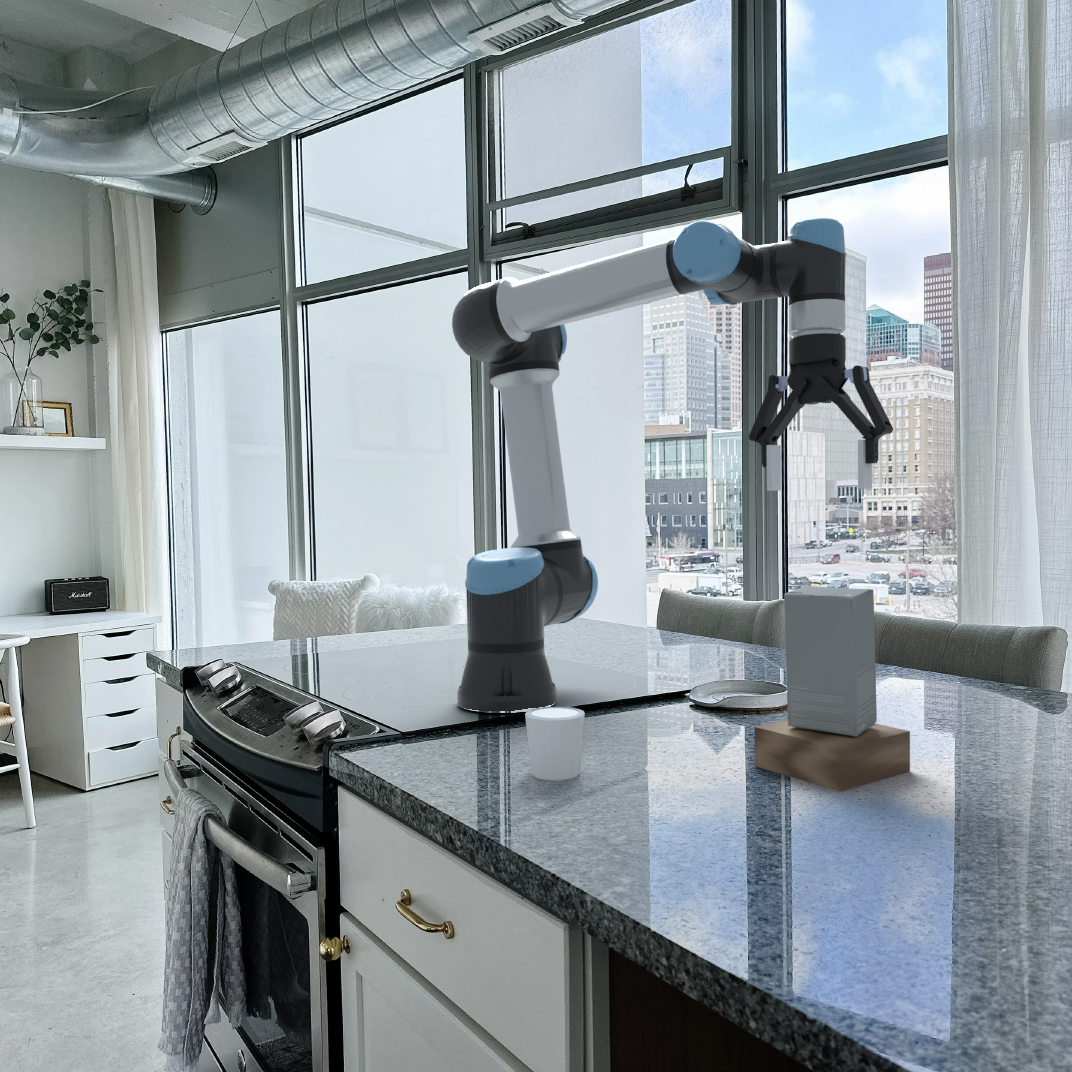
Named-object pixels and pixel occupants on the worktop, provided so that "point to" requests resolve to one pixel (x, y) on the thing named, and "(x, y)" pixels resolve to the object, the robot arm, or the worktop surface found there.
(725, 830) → the worktop surface
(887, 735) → the walnut block
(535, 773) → the white tapered cup
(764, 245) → the robot arm
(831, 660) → the skincare box
